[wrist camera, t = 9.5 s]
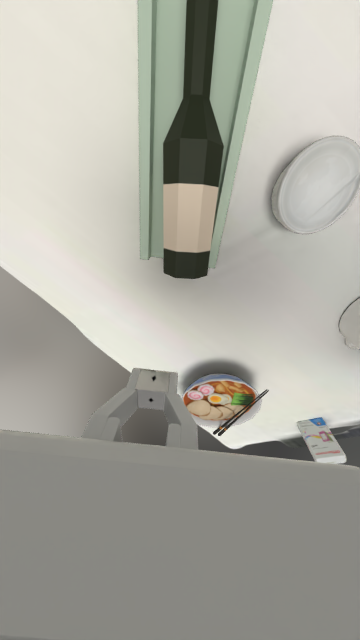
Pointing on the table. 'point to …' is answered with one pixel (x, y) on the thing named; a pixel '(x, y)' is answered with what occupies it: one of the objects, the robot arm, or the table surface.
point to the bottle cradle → (167, 94)
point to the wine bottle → (192, 154)
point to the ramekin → (318, 185)
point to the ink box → (321, 441)
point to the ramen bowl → (221, 401)
